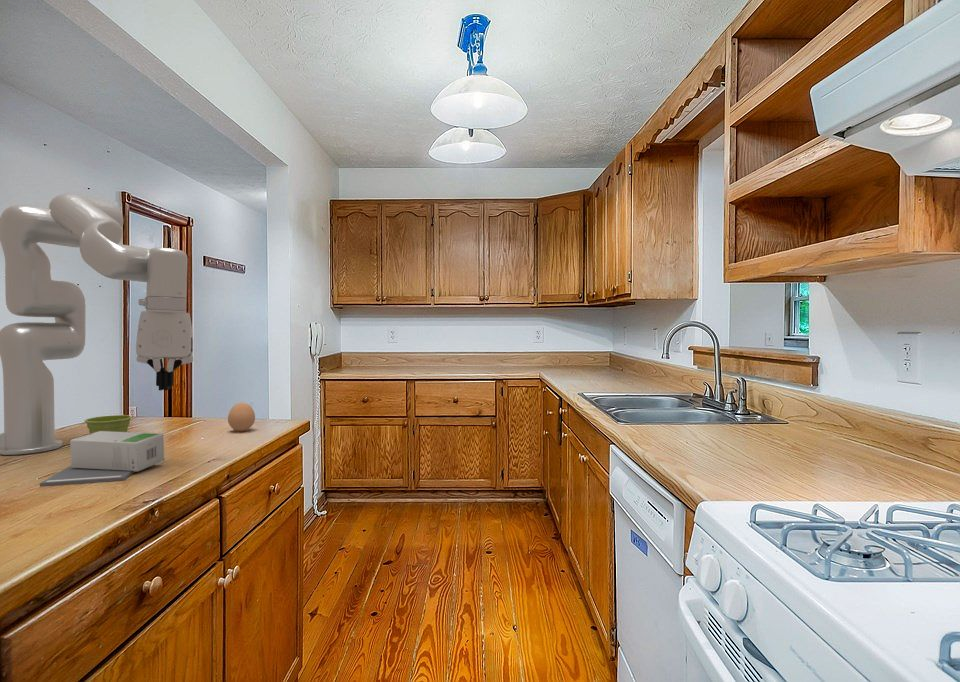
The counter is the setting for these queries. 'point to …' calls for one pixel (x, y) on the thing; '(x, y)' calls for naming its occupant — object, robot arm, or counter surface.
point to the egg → (241, 417)
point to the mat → (85, 476)
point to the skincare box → (117, 450)
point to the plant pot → (108, 423)
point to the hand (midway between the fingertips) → (164, 389)
